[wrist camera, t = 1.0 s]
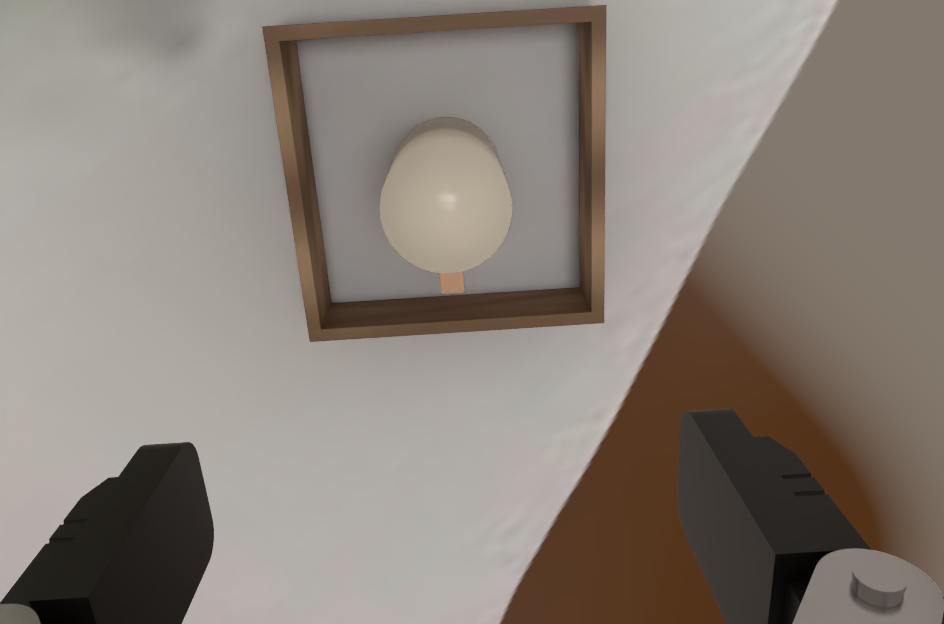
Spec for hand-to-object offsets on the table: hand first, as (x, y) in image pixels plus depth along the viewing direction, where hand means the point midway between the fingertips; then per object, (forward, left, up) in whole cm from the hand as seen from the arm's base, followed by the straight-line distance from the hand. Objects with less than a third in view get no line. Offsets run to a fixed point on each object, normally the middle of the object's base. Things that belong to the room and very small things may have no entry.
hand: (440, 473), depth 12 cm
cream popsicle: (0, 0, -26) cm, 26 cm away
